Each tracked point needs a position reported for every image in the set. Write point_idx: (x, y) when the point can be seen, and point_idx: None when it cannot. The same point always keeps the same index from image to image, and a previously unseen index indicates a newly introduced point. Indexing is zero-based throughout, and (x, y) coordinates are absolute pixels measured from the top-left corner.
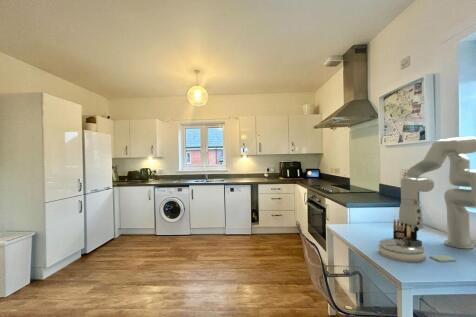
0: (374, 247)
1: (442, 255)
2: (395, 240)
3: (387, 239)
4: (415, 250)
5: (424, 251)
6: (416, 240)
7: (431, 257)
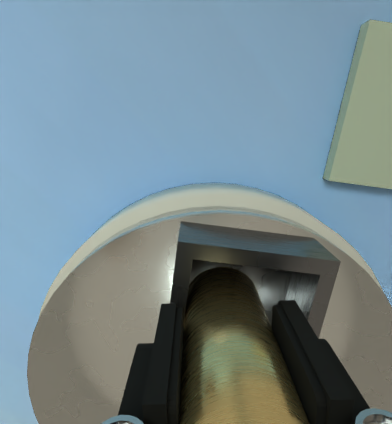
0: (24, 380)
1: (366, 48)
2: (76, 340)
3: (31, 385)
4: (383, 400)
5: (351, 256)
6: (258, 261)
7: (345, 182)
